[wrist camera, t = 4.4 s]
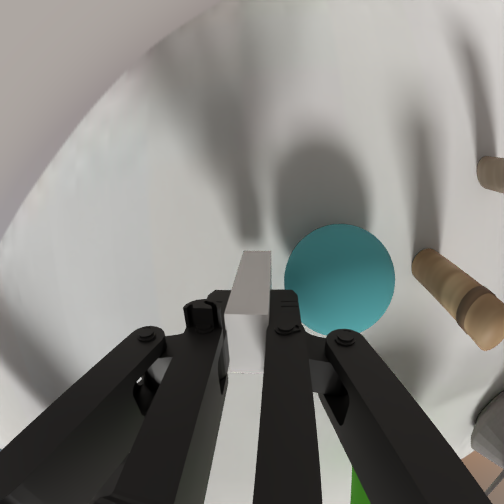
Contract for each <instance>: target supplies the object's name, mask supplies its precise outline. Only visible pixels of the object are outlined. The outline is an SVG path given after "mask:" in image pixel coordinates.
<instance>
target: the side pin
mask: <svg viewBox="0 0 504 504" xmlns="http://www.w3.org/2000/svg"><path fill="white" fill-rule="evenodd" d="M477 177H478V180H479V183H480V184H481V186H482V187H484V188H486V189H489V190H493V191H497V192H500V193H504V158H498V157H489V156H485V157H483V158H481V159H480V161H479V163H478V166H477Z"/></svg>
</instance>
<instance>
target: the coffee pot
mask: <svg viewBox="0 0 504 504" xmlns="http://www.w3.org/2000/svg"><path fill="white" fill-rule="evenodd" d="M471 447H472V449H474V450H475V451H477V452H479V453H480V454H481V455H483V456H484V457H486V458H487V459H489V460H491V461H492V462H494V463H495V464H497V465H498V466H500V467H501V468H503V469H504V391H503V392H501V393H500V394H499V395H498V396H496V397H495V398H494V399H493V400H492V401H491V402H490V403H489V404H488V405H487V406H486V407H485V408H484V409H483V411H482V412H481V413H480V415H479V416H478V418H477V420H476V425H475V427H474V429H473V432H472V435H471ZM503 478H504V470H503V471H502V472H501V473H500V475H499V476H498V477H497V478H496V480H495V481H494V482H493V483H492V484H491V486H490V487H489V488H488V489H487V490H486V491H485V492H484V493H485V494H486V496H488V495H489V494H490V493H491V492H492V490H493V489H494V488H495V487H496V486H497V485H498V484H499V483H500V482H501V480H502V479H503Z"/></svg>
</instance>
